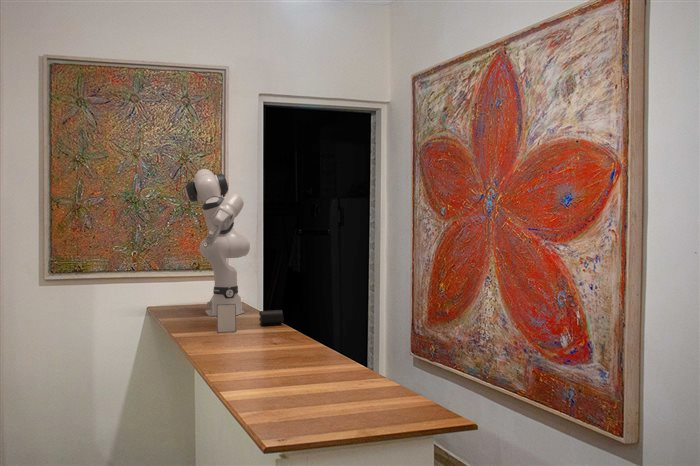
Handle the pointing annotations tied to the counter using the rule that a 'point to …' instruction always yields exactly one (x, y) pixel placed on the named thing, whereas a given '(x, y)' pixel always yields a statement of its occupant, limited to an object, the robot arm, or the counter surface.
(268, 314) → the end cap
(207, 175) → the robot arm
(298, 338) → the counter surface
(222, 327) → the slate tile
